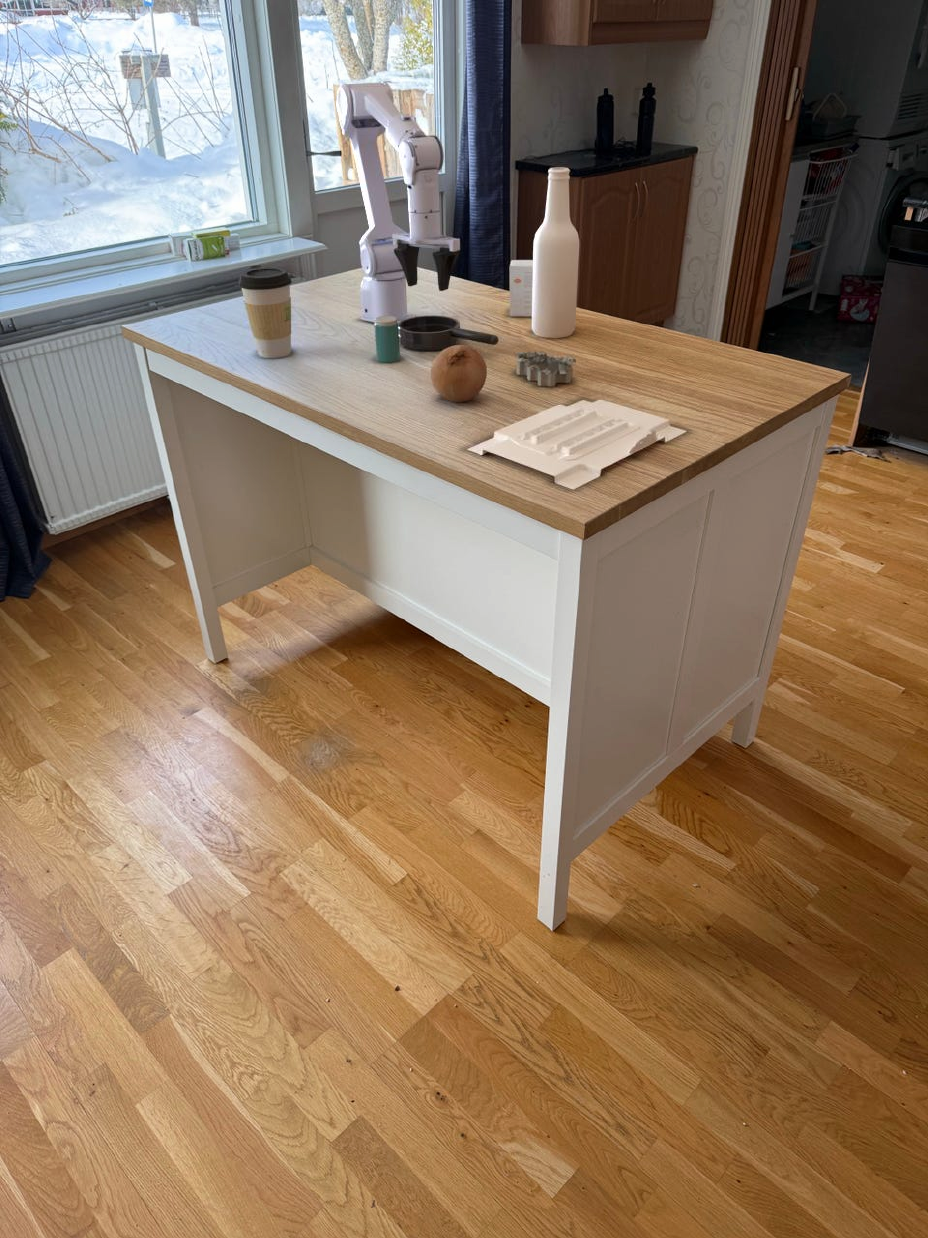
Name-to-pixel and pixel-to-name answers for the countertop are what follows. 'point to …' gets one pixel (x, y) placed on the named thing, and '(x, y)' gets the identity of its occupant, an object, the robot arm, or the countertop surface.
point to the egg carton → (545, 368)
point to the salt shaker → (387, 339)
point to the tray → (578, 439)
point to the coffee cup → (268, 309)
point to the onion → (458, 373)
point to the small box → (521, 288)
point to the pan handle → (474, 336)
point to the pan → (427, 333)
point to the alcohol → (555, 263)
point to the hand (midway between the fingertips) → (427, 287)
